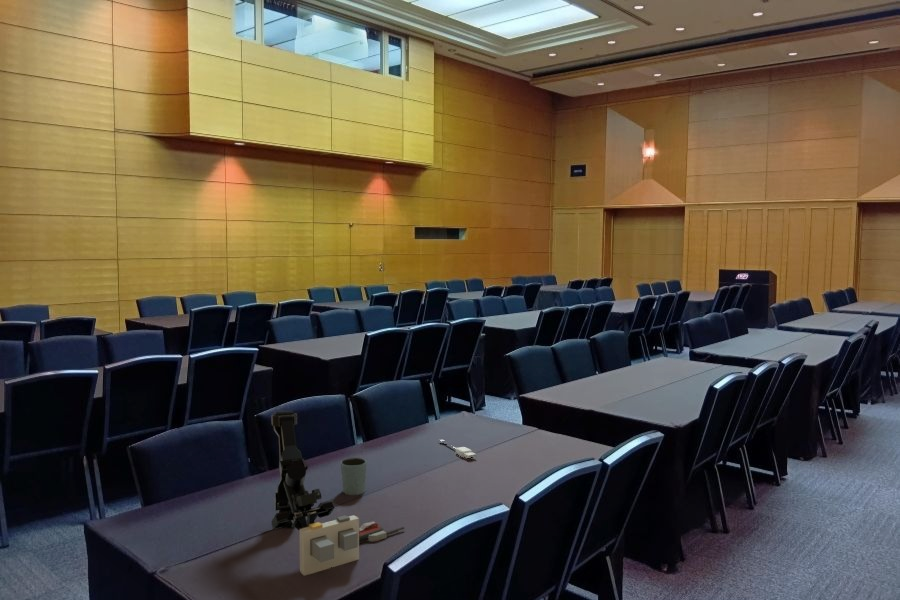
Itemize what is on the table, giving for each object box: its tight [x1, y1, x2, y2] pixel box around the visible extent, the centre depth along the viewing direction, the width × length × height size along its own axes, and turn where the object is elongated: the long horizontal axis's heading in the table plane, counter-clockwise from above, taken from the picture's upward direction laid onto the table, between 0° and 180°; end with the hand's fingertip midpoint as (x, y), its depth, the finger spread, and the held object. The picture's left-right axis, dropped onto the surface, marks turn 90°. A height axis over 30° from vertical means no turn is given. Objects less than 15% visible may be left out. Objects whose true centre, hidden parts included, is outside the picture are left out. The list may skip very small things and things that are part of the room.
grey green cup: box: [340, 457, 367, 496], centre depth 263 cm, size 10×10×12 cm
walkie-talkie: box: [359, 520, 405, 545], centre depth 223 cm, size 9×4×20 cm
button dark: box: [338, 529, 358, 551], centre depth 204 cm, size 9×4×4 cm, turn 36°
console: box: [299, 514, 360, 577], centre depth 202 cm, size 3×18×14 cm, turn 126°
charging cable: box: [439, 439, 477, 459], centre depth 316 cm, size 5×32×3 cm, turn 28°
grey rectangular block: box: [310, 536, 334, 562], centre depth 196 cm, size 9×4×4 cm, turn 36°
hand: (311, 540), depth 202 cm, fingers closed
